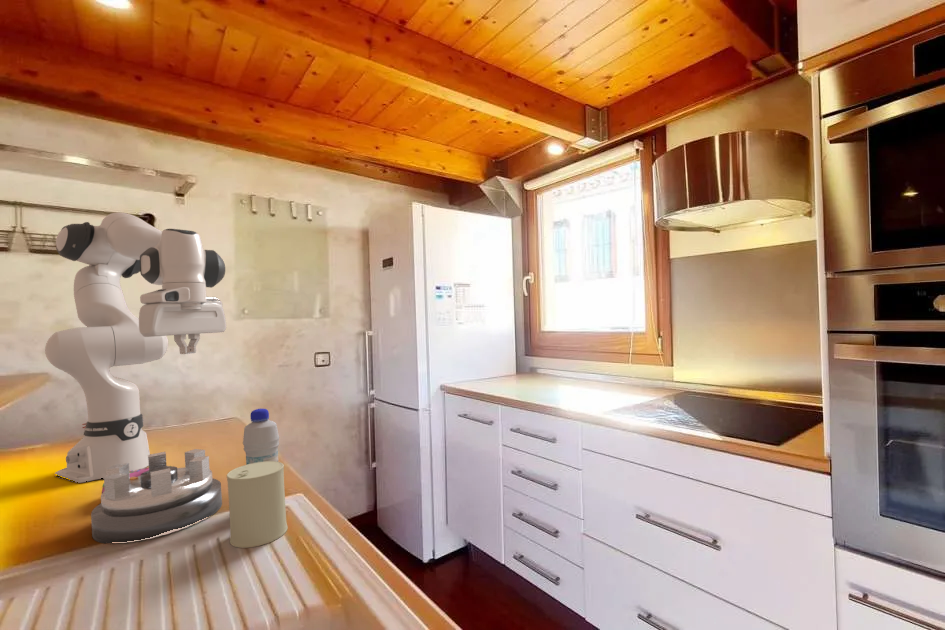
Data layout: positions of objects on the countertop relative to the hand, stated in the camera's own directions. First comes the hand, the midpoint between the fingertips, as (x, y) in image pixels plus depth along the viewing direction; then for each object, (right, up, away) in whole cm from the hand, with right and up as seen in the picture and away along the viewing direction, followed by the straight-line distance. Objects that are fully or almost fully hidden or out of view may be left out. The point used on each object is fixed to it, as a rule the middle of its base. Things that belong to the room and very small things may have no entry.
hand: (188, 353), depth 107 cm
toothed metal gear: (+6, -27, -18) cm, 33 cm away
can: (+30, -30, -28) cm, 51 cm away
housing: (+6, -31, -18) cm, 36 cm away
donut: (-6, -32, -6) cm, 33 cm away
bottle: (+26, -30, -16) cm, 43 cm away
